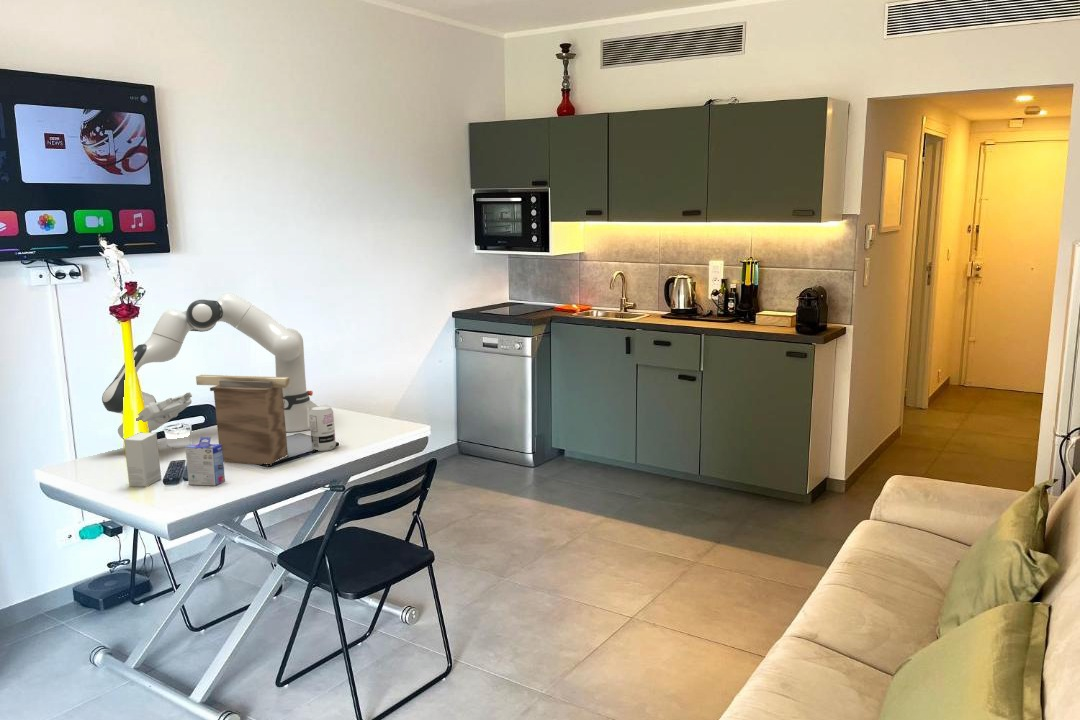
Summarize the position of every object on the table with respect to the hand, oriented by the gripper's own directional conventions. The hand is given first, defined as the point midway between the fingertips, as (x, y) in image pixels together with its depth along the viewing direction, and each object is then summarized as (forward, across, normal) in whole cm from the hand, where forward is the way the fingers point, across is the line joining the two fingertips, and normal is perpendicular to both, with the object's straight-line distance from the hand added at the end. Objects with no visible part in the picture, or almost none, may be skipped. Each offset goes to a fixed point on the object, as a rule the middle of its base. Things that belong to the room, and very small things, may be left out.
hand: (180, 397), depth 293 cm
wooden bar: (+25, 0, +9) cm, 26 cm away
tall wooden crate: (+14, 0, +32) cm, 35 cm away
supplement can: (+28, +17, +41) cm, 53 cm away
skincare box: (-3, -30, +23) cm, 38 cm away
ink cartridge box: (+14, -26, +33) cm, 44 cm away
